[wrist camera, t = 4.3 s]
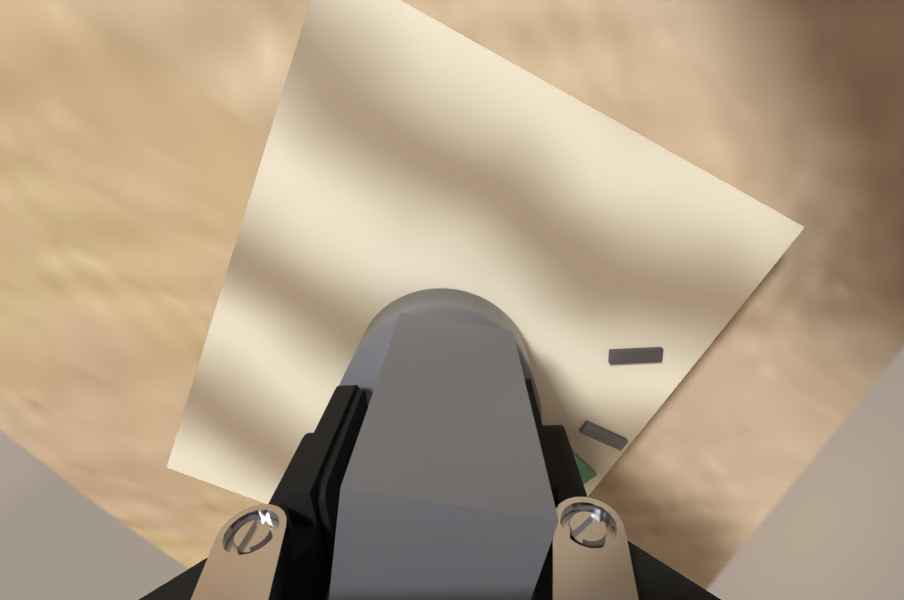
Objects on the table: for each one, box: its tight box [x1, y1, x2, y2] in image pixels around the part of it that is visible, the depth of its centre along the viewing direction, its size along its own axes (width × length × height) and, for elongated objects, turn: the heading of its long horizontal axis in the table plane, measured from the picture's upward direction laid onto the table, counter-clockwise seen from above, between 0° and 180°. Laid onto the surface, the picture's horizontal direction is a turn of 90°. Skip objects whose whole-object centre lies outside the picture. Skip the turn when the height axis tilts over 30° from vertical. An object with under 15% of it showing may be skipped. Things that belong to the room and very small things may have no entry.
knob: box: [329, 288, 559, 600], centre depth 12 cm, size 11×6×9 cm, turn 170°
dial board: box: [167, 0, 804, 504], centre depth 17 cm, size 19×16×2 cm
